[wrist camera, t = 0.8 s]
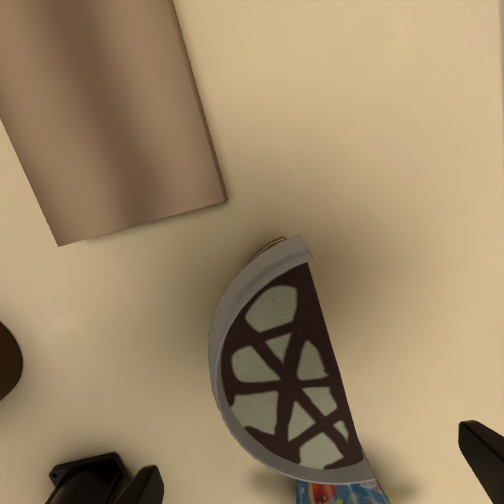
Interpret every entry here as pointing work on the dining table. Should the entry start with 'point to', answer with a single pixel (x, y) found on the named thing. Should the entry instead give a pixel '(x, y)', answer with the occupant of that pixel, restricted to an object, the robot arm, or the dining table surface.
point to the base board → (104, 113)
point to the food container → (283, 371)
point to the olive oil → (8, 363)
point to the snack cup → (340, 493)
